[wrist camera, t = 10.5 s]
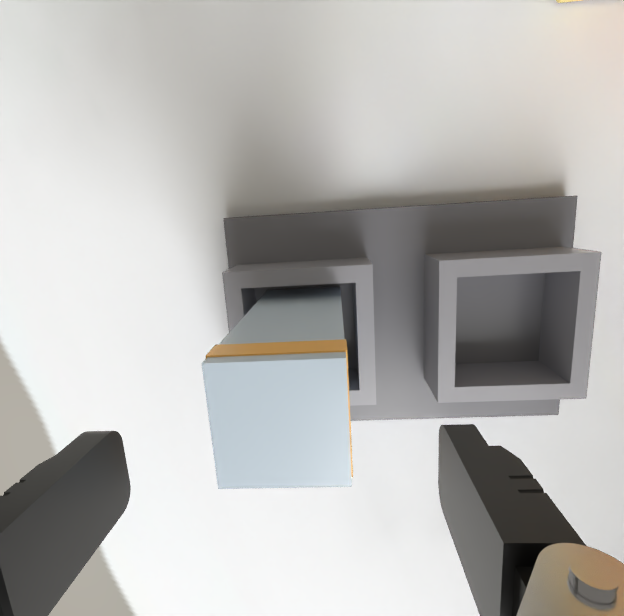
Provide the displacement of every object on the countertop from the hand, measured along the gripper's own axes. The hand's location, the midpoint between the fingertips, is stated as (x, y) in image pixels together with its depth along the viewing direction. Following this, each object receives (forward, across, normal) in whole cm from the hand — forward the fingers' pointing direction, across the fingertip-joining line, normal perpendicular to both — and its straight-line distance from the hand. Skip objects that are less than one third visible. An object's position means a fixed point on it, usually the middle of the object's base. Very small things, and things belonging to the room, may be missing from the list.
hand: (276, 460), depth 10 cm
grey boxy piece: (+14, -5, 0) cm, 14 cm away
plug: (+12, 0, 0) cm, 13 cm away
